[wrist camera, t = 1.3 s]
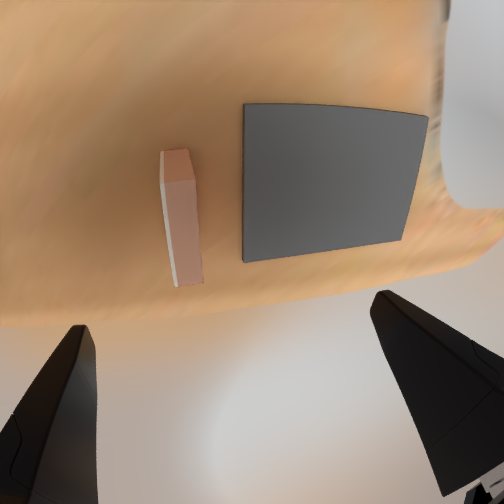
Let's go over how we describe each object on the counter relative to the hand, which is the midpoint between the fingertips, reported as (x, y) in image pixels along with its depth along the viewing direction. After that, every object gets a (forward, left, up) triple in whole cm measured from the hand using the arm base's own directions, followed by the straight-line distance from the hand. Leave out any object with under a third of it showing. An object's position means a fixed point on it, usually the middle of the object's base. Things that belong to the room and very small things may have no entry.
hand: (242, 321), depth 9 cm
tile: (-1, -2, -12) cm, 12 cm away
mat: (+10, -2, -12) cm, 16 cm away
